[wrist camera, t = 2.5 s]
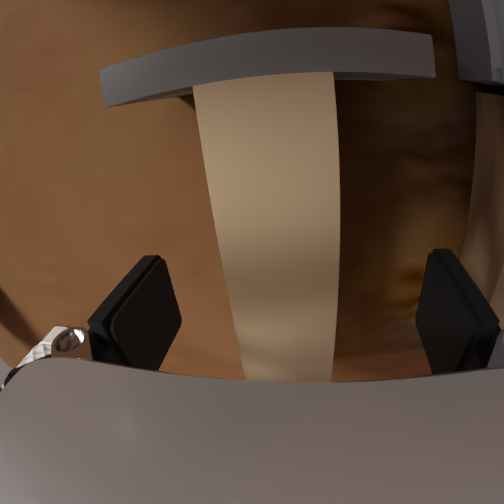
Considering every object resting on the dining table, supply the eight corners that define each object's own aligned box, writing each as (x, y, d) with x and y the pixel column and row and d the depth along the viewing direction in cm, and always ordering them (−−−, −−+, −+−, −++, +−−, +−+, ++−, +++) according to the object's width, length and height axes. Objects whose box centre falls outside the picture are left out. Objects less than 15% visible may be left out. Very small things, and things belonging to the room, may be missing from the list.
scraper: (174, 72, 12) (99, 70, 7) (377, 55, 10) (431, 35, 5) (218, 309, 18) (190, 389, 13) (372, 306, 17) (390, 391, 12)
